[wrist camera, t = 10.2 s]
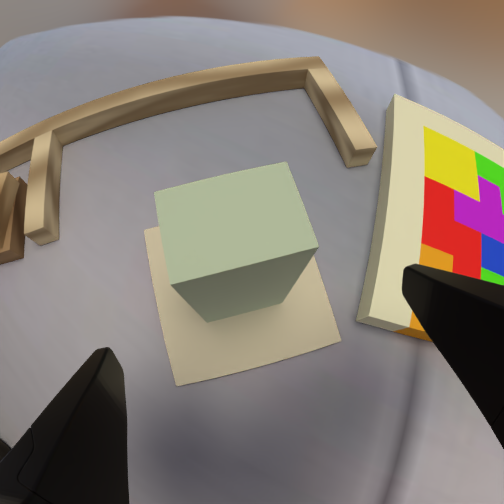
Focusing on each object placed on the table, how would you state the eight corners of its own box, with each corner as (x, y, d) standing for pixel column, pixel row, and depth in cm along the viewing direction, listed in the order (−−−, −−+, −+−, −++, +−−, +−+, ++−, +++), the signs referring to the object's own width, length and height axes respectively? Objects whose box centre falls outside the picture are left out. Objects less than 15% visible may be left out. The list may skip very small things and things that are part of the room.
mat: (339, 341, 20) (341, 341, 20) (177, 385, 19) (176, 386, 18) (290, 196, 23) (291, 194, 23) (145, 232, 22) (144, 230, 22)
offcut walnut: (26, 259, 22) (9, 249, 19) (-10, 269, 21) (-27, 261, 19) (32, 189, 24) (19, 176, 21) (-3, 203, 23) (-17, 191, 21)
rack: (367, 164, 25) (377, 147, 22) (-32, 272, 20) (-48, 264, 18) (314, 74, 28) (318, 56, 26) (-19, 171, 24) (-30, 159, 22)
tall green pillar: (282, 302, 20) (318, 246, 10) (206, 322, 20) (170, 284, 10) (267, 253, 21) (286, 161, 11) (194, 271, 21) (154, 192, 11)
